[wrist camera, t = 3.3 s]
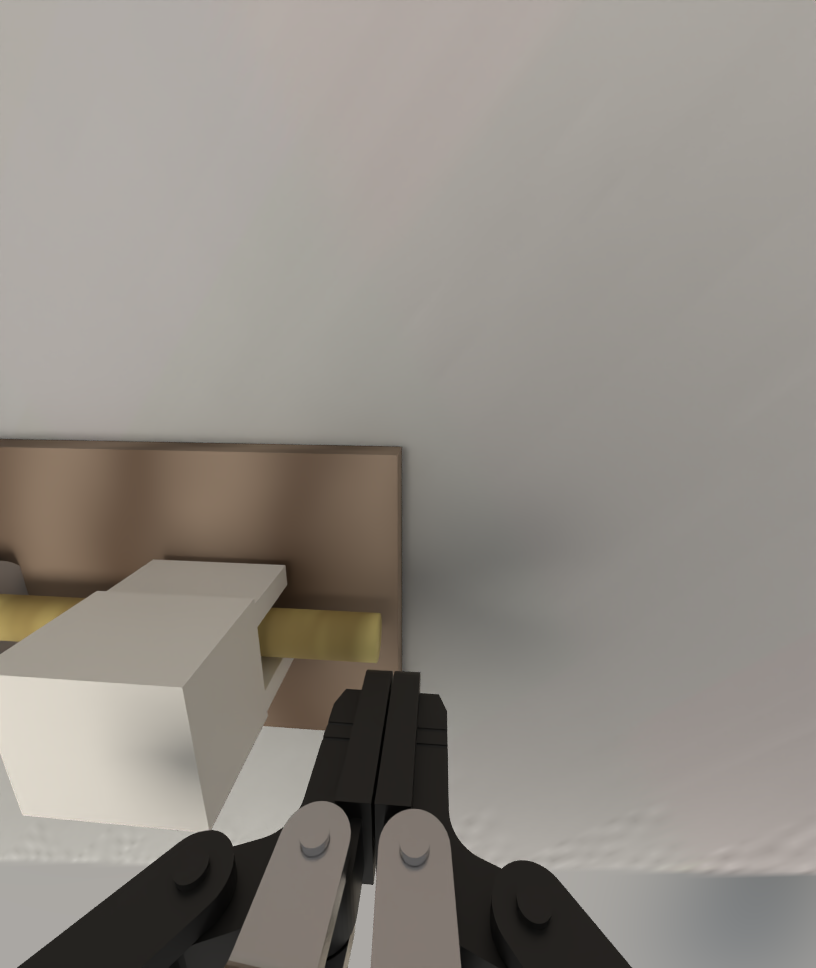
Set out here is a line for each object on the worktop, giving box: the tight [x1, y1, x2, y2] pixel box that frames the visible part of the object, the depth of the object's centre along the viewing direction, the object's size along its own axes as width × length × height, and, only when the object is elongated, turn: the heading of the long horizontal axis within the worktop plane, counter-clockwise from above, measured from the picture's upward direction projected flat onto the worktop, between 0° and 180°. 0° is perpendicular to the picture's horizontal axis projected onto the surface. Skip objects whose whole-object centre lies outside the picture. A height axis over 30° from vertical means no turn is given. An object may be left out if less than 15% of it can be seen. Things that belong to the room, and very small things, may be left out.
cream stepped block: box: [0, 559, 294, 832], centre depth 12 cm, size 5×4×6 cm
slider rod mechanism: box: [0, 439, 402, 730], centre depth 14 cm, size 20×12×7 cm, turn 90°
